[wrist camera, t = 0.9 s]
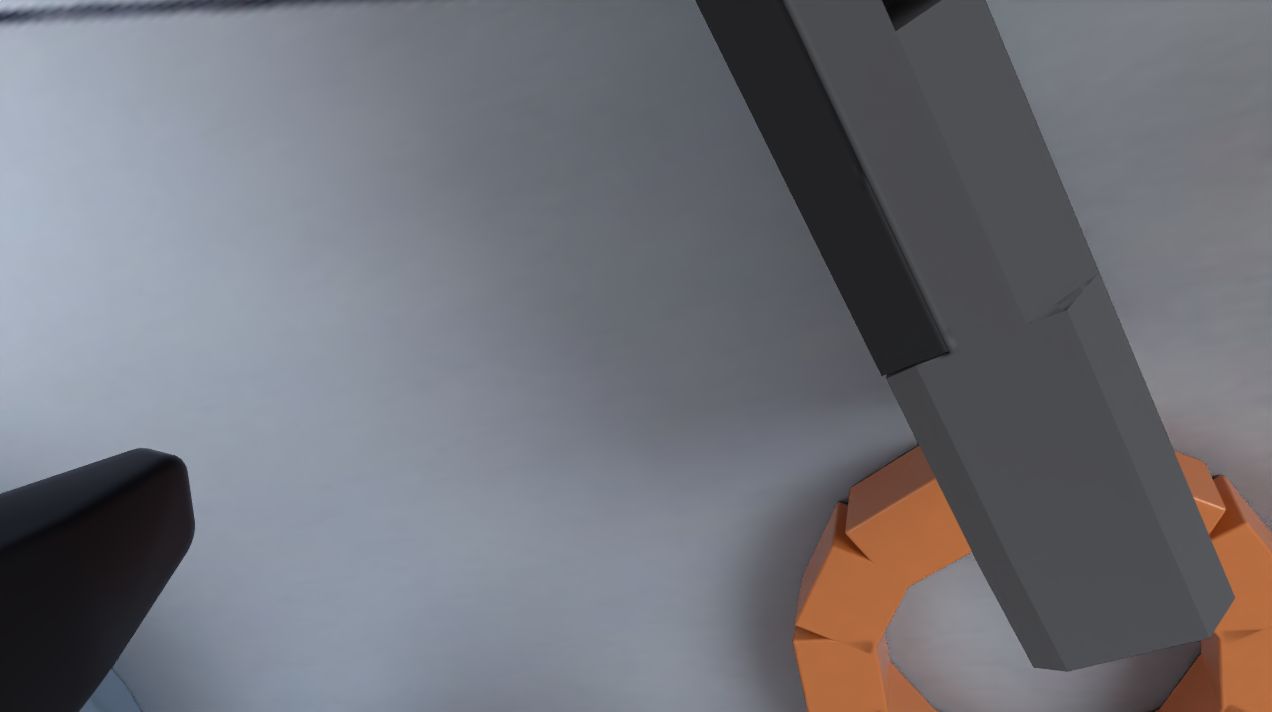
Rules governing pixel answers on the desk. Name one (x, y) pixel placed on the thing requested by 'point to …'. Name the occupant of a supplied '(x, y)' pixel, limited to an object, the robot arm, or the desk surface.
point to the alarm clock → (111, 697)
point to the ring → (931, 539)
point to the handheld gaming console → (982, 313)
